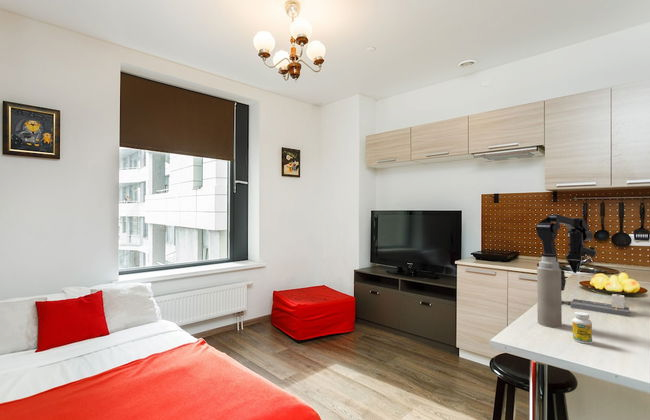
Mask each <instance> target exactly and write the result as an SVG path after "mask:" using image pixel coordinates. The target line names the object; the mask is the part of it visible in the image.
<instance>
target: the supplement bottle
mask: <svg viewBox="0 0 650 420" xmlns="http://www.w3.org/2000/svg"><path fill="white" fill-rule="evenodd" d="M571 323H572V340H573V341H575V342H576V343H580V344H584V345H585V344H587V345H588V344H592V343H593V324H592V323H593V322H592V321H591V319H590V313H588V312H583V311H575V312H574V318H572V322H571Z"/></svg>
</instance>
